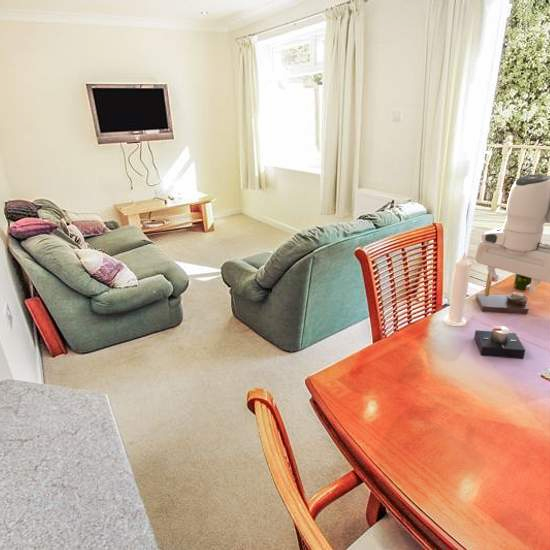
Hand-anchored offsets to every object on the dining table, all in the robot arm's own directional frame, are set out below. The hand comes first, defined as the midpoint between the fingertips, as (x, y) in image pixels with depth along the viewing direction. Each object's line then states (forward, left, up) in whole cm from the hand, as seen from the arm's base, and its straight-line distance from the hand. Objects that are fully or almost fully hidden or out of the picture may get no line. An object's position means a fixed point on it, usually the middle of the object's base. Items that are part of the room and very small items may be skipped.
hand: (510, 286), depth 103 cm
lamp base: (-7, -27, -21) cm, 35 cm away
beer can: (-18, -42, -21) cm, 50 cm away
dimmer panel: (0, 0, -21) cm, 21 cm away
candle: (+10, -14, -21) cm, 27 cm away
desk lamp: (-4, -27, -17) cm, 32 cm away
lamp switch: (-12, -27, -17) cm, 34 cm away
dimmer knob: (0, 0, -18) cm, 18 cm away
